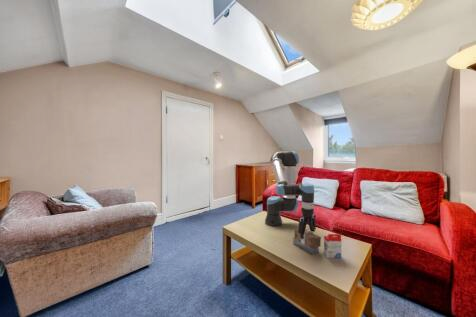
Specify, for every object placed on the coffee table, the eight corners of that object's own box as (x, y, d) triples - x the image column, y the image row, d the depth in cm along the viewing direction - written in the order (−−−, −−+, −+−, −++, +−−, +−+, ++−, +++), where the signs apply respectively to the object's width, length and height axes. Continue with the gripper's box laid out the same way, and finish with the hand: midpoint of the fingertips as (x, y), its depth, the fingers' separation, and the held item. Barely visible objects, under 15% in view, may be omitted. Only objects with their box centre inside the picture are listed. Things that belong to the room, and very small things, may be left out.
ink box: (336, 253, 114) (337, 230, 113) (341, 257, 109) (341, 234, 108) (323, 253, 113) (323, 230, 113) (327, 258, 108) (328, 234, 108)
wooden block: (294, 238, 124) (294, 230, 123) (301, 236, 127) (301, 228, 127) (313, 249, 111) (313, 239, 110) (320, 246, 114) (320, 236, 114)
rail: (293, 243, 126) (293, 232, 125) (299, 241, 129) (299, 231, 128) (312, 254, 112) (312, 243, 111) (318, 252, 115) (318, 240, 114)
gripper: (301, 212, 110) (301, 248, 111) (322, 207, 120) (321, 240, 121) (292, 208, 116) (291, 243, 117) (312, 204, 126) (312, 236, 127)
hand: (306, 241), depth 119 cm, fingers closed on wooden block, 7 cm apart
